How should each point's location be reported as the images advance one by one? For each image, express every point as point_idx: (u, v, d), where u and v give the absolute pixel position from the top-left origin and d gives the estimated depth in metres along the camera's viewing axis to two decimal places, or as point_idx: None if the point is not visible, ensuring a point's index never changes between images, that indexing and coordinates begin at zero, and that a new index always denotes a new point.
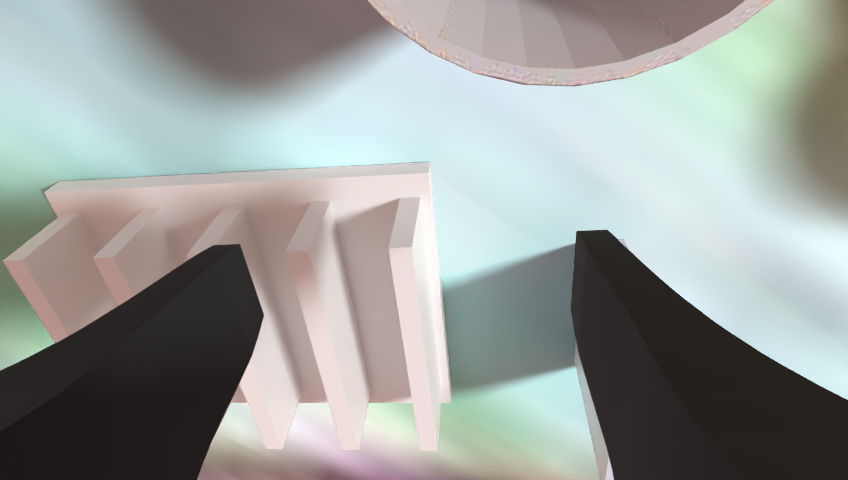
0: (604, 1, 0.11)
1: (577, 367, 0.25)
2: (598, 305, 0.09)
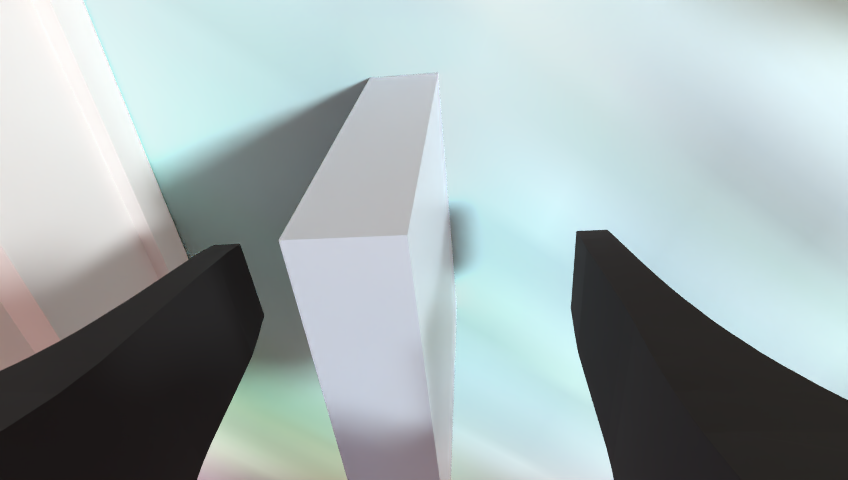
0: None
1: None
2: (598, 305, 0.09)
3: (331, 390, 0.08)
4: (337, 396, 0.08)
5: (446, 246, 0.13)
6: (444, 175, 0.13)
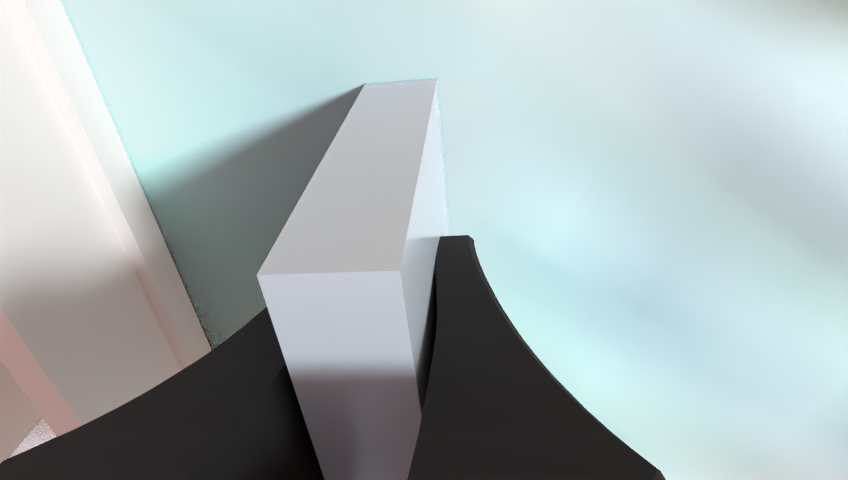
0: None
1: None
2: None
3: (319, 431, 0.07)
4: (325, 437, 0.07)
5: None
6: (443, 187, 0.12)
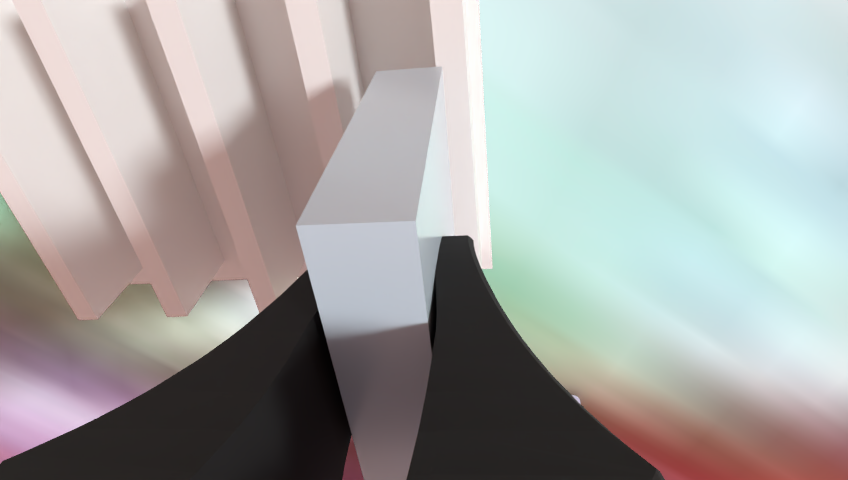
0: None
1: None
2: None
3: (343, 367, 0.08)
4: (348, 373, 0.09)
5: (449, 234, 0.13)
6: (447, 166, 0.13)
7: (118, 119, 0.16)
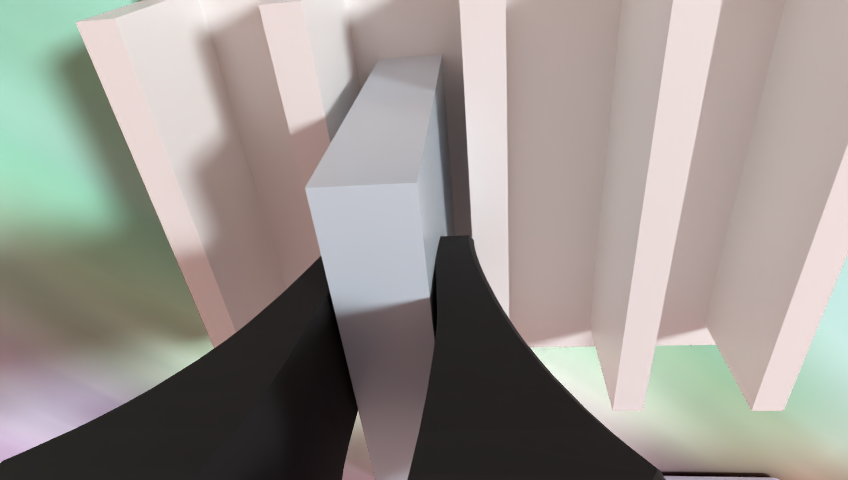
0: None
1: None
2: None
3: (347, 329, 0.09)
4: (352, 335, 0.09)
5: (449, 216, 0.14)
6: (447, 150, 0.14)
7: None
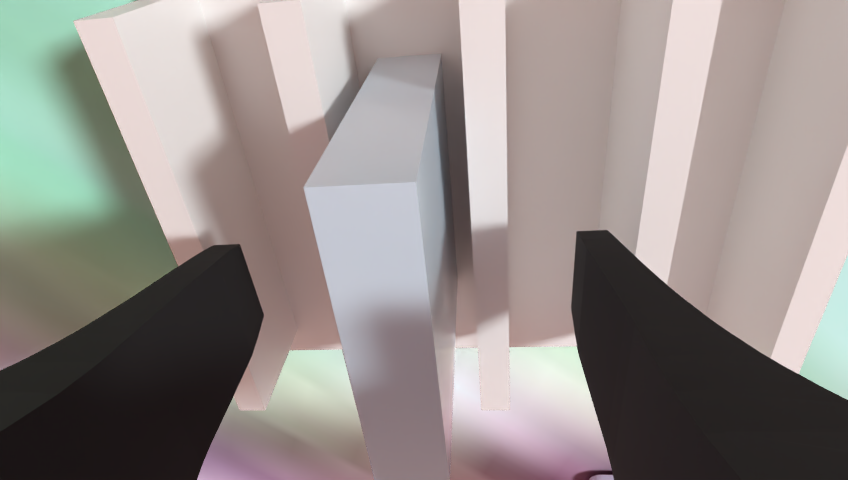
0: None
1: None
2: (598, 305, 0.09)
3: (346, 329, 0.09)
4: (351, 335, 0.09)
5: (448, 216, 0.14)
6: (446, 150, 0.14)
7: None
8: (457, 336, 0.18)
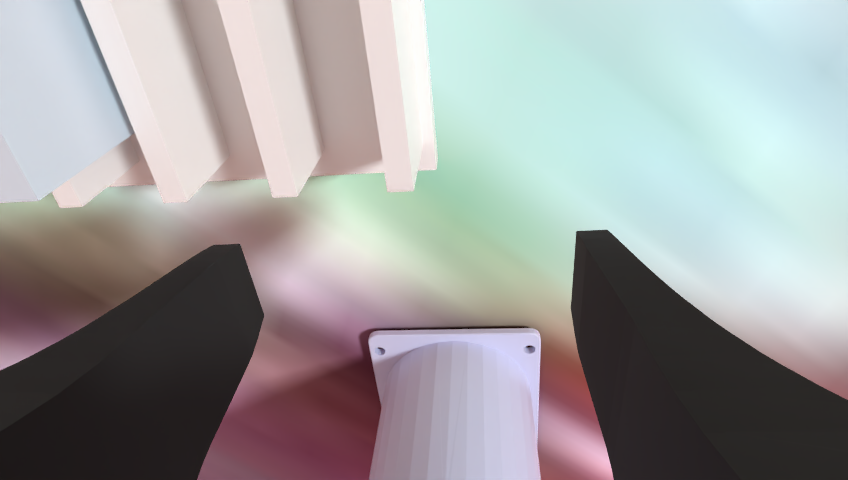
0: None
1: None
2: (598, 305, 0.09)
3: None
4: None
5: None
6: None
7: None
8: None
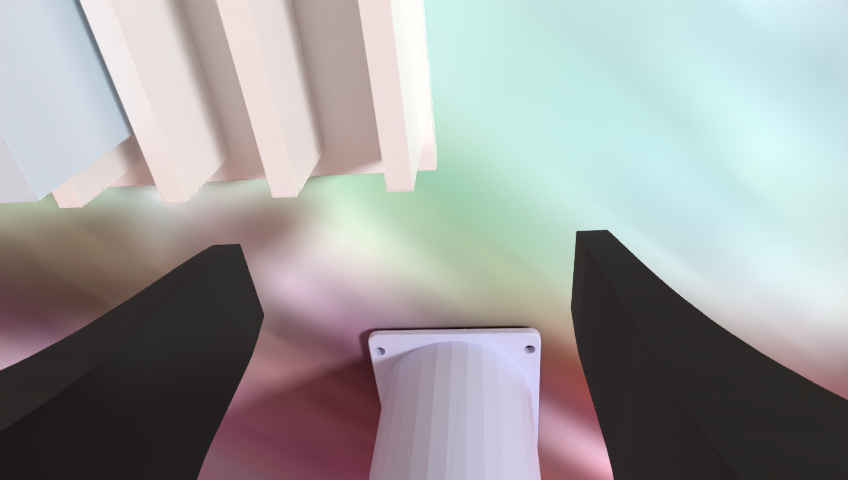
0: None
1: None
2: (598, 305, 0.09)
3: None
4: None
5: None
6: None
7: None
8: None
